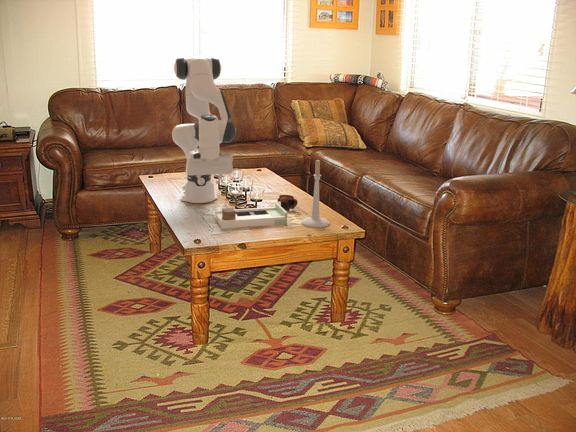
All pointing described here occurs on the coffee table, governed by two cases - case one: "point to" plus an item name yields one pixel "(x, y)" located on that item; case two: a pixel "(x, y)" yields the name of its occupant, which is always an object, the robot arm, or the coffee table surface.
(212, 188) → the robot arm
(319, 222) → the candlestick
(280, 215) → the box
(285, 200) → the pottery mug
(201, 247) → the coffee table surface
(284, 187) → the coffee table surface
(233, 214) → the walnut block
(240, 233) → the coffee table surface
